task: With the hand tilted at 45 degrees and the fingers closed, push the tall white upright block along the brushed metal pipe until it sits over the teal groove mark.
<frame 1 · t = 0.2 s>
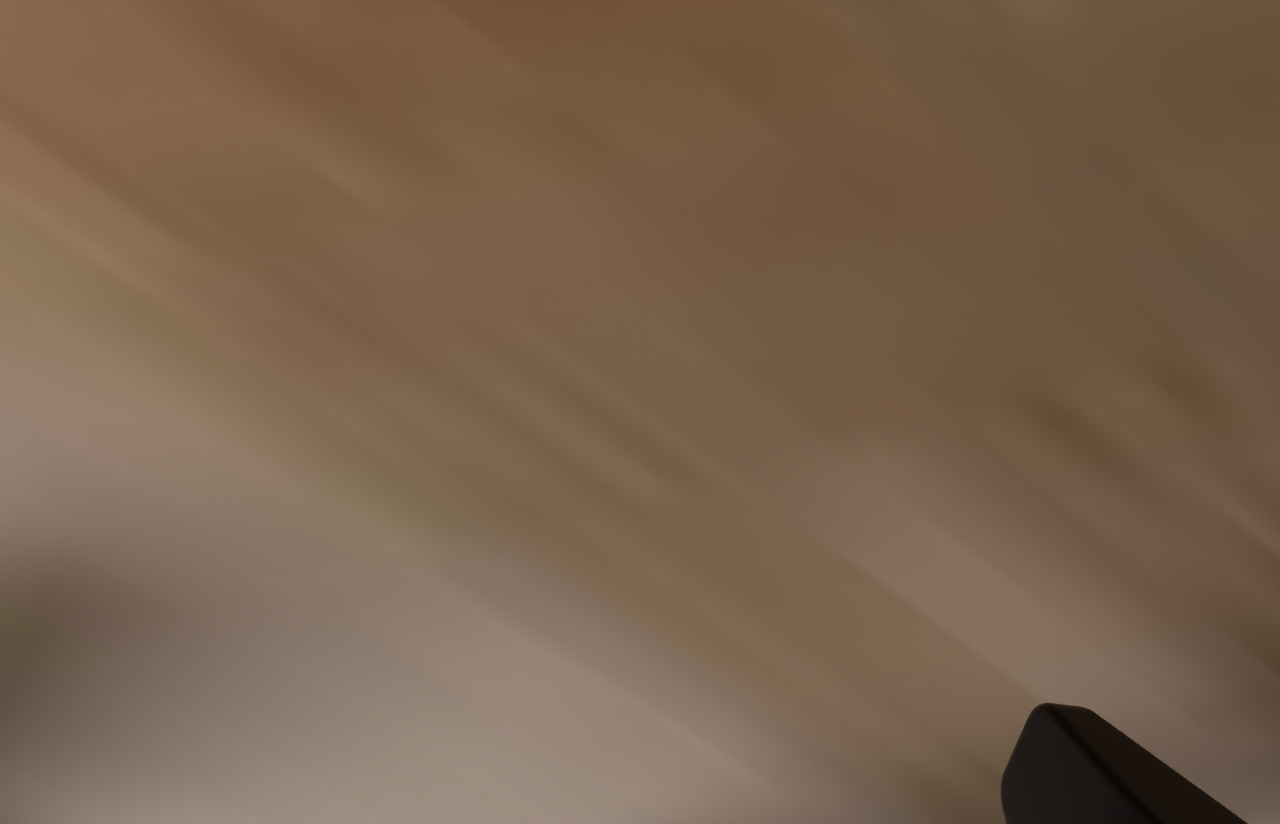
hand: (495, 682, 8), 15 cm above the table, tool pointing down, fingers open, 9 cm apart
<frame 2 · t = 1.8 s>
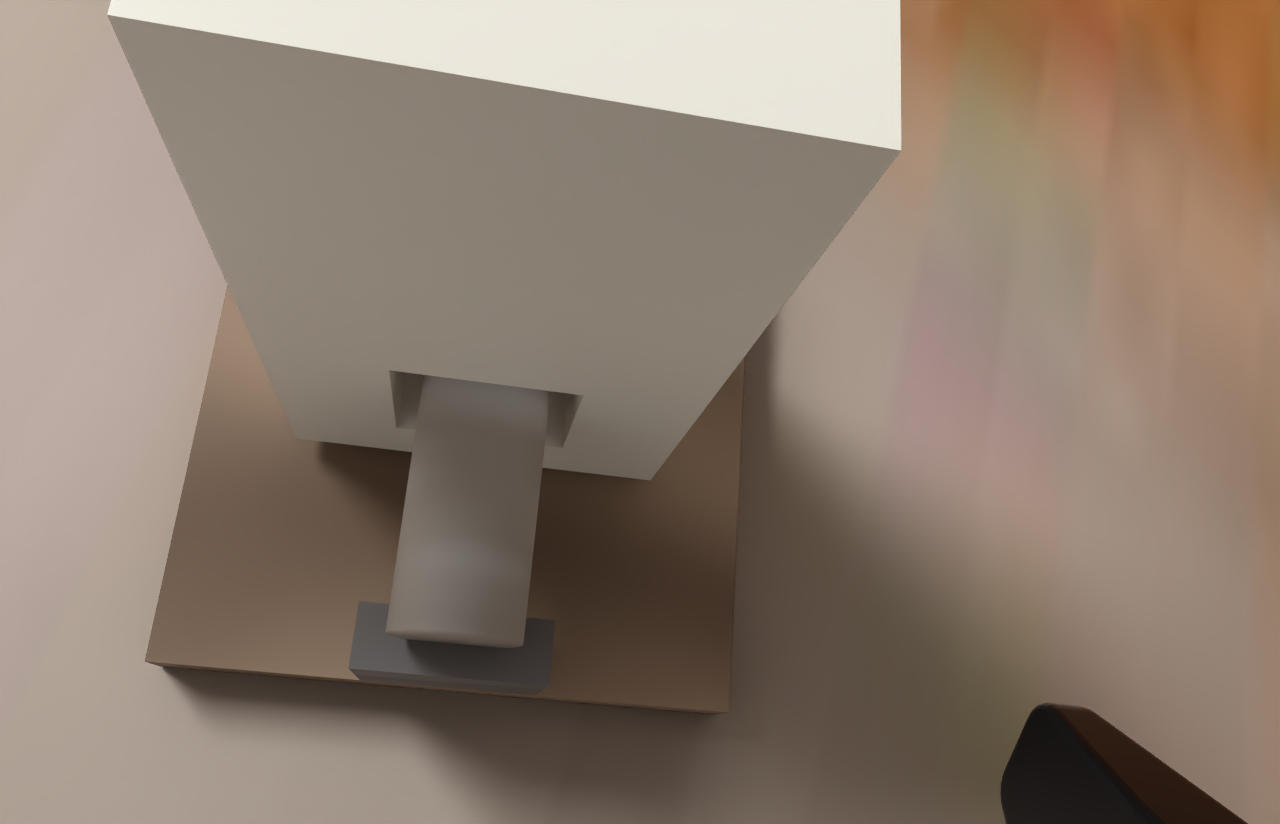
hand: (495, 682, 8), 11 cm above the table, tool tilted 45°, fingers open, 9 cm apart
white upright block: (509, 210, 15), point 7 cm above the table, slide at 0.0 cm
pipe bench: (502, 269, 22), on the table
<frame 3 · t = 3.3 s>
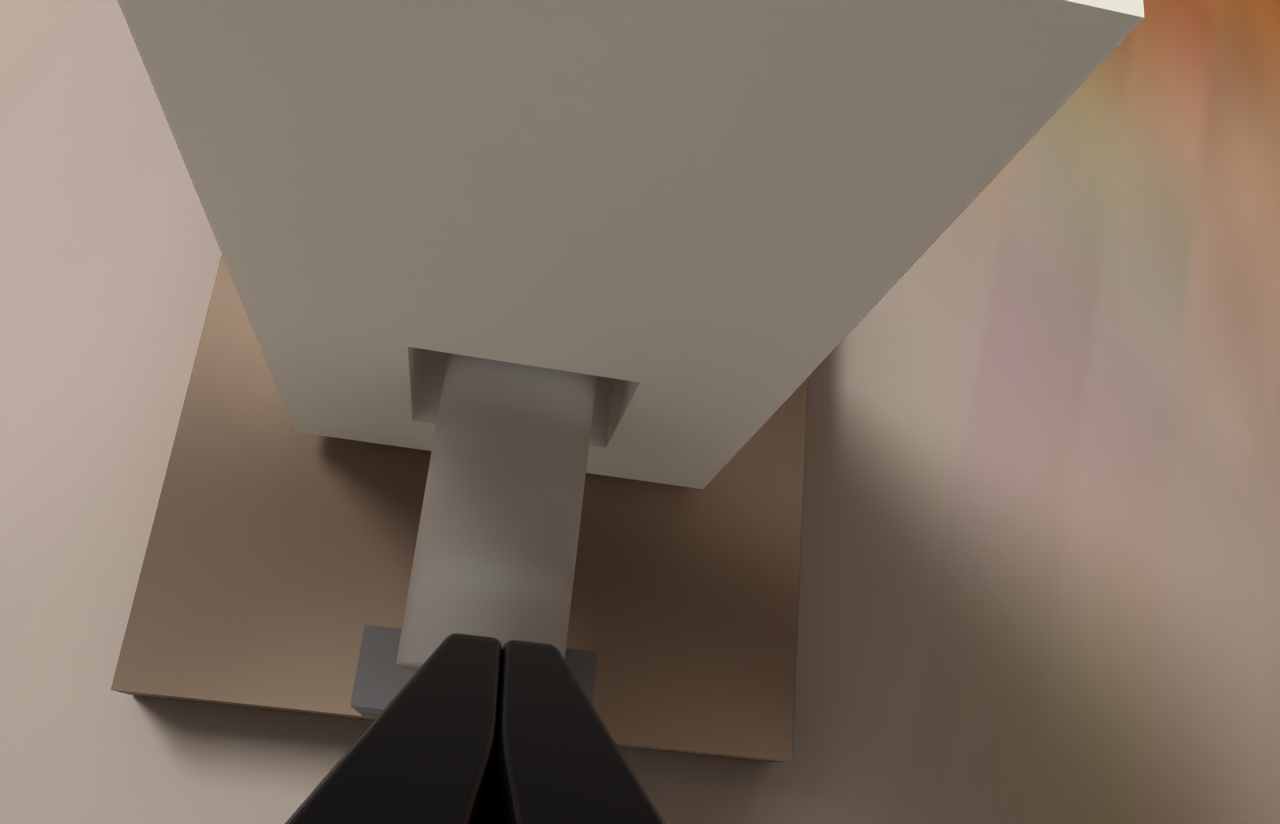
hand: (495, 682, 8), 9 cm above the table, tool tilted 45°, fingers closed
white upright block: (558, 153, 12), point 7 cm above the table, slide at 0.0 cm
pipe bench: (533, 248, 19), on the table
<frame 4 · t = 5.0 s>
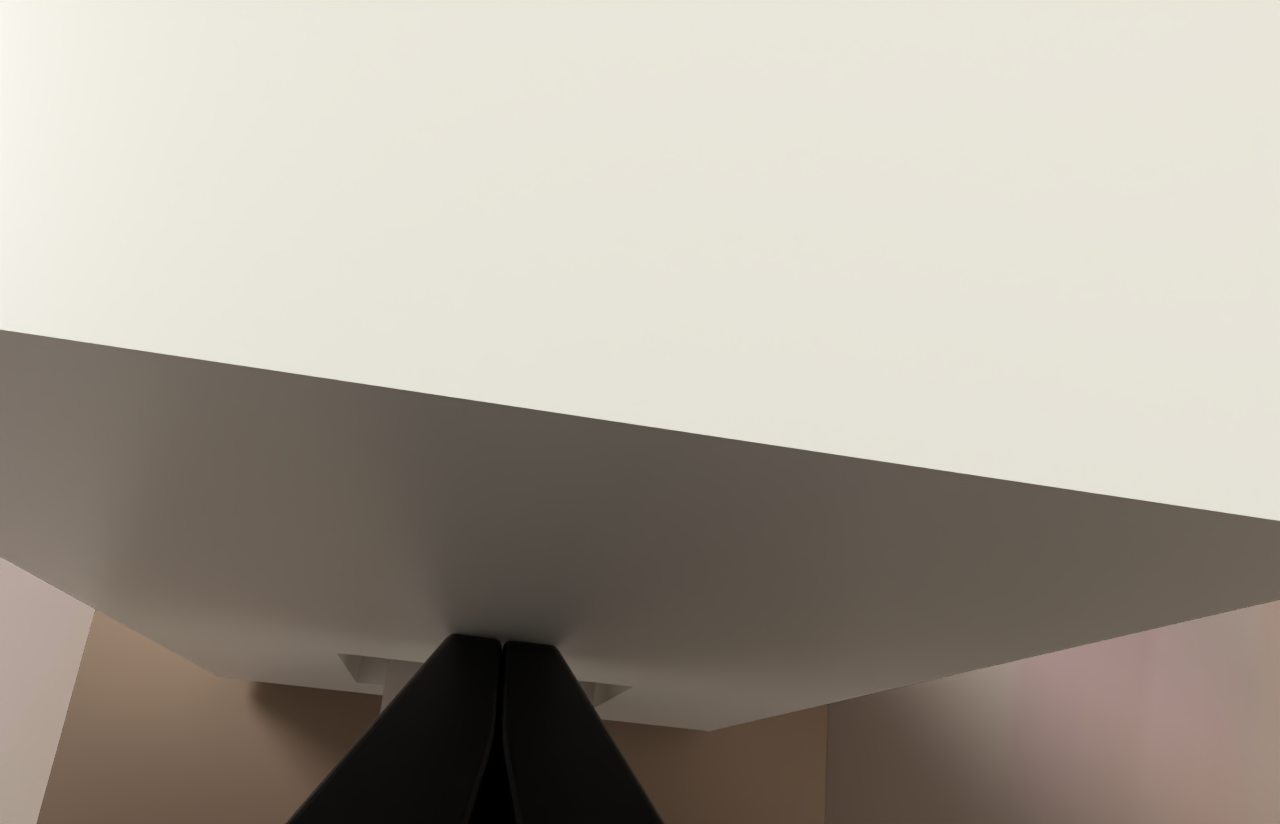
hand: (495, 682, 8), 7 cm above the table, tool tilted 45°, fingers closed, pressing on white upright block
white upright block: (528, 419, 9), point 7 cm above the table, slide at 1.2 cm, touching gripper
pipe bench: (500, 491, 16), on the table
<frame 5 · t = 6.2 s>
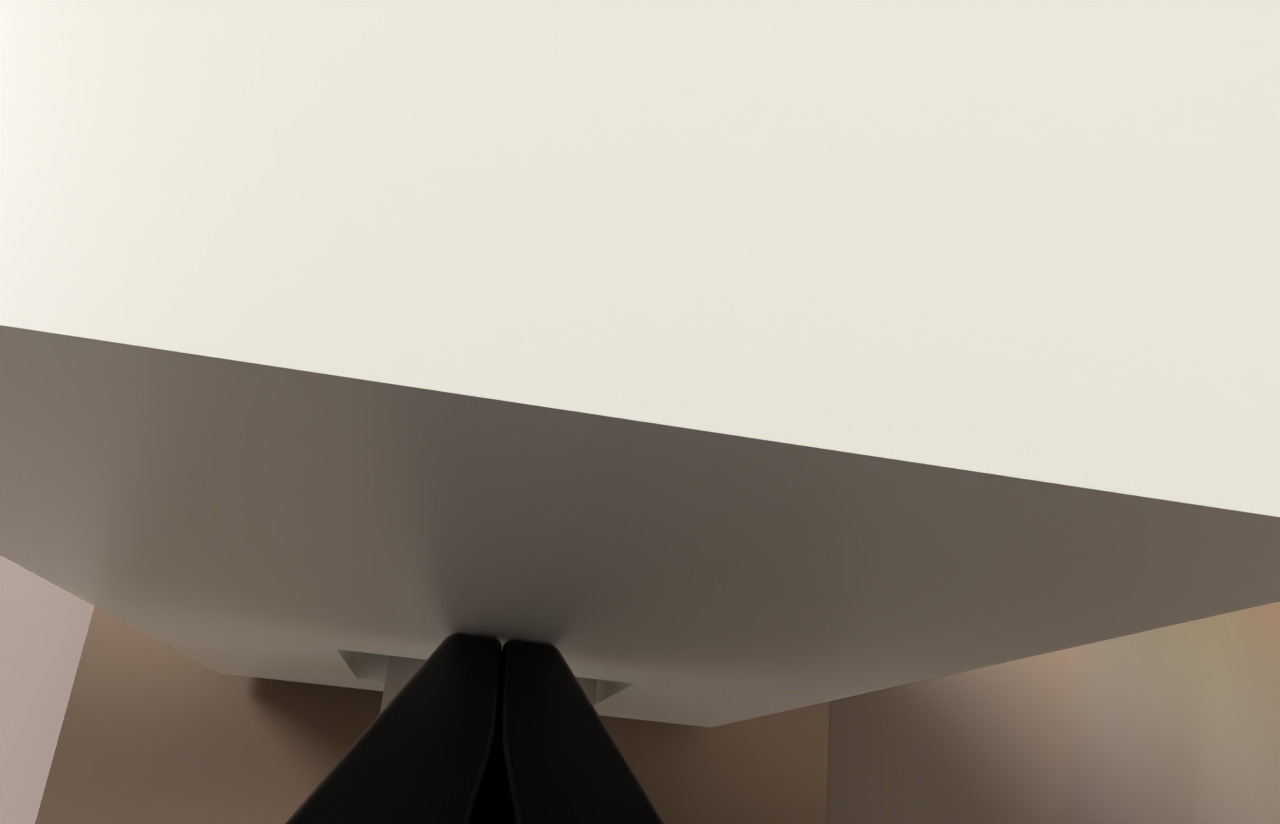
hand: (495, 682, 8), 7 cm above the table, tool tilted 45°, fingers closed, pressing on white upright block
white upright block: (529, 415, 9), point 7 cm above the table, slide at 6.5 cm, touching gripper
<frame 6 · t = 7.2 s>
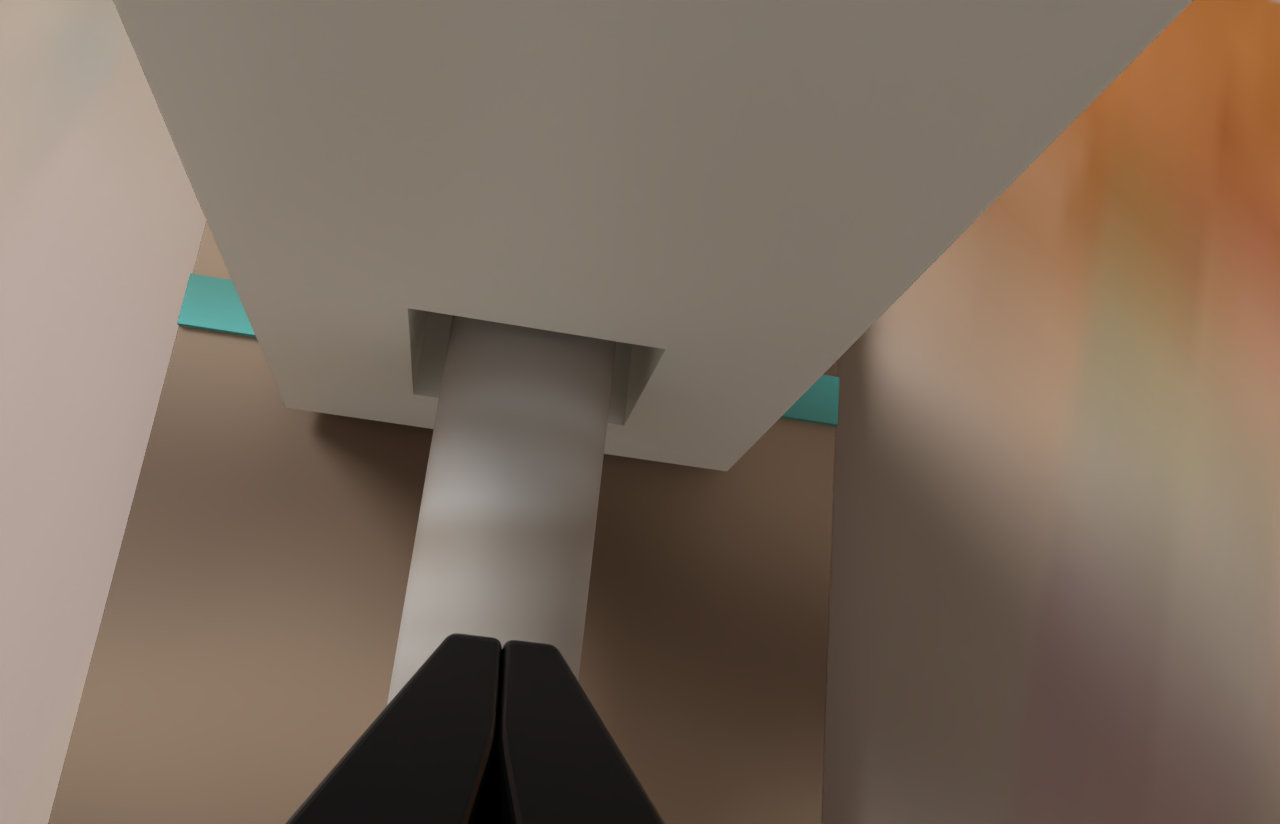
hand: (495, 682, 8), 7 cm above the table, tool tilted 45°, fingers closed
white upright block: (577, 90, 11), point 7 cm above the table, slide at 6.5 cm
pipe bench: (489, 591, 16), on the table
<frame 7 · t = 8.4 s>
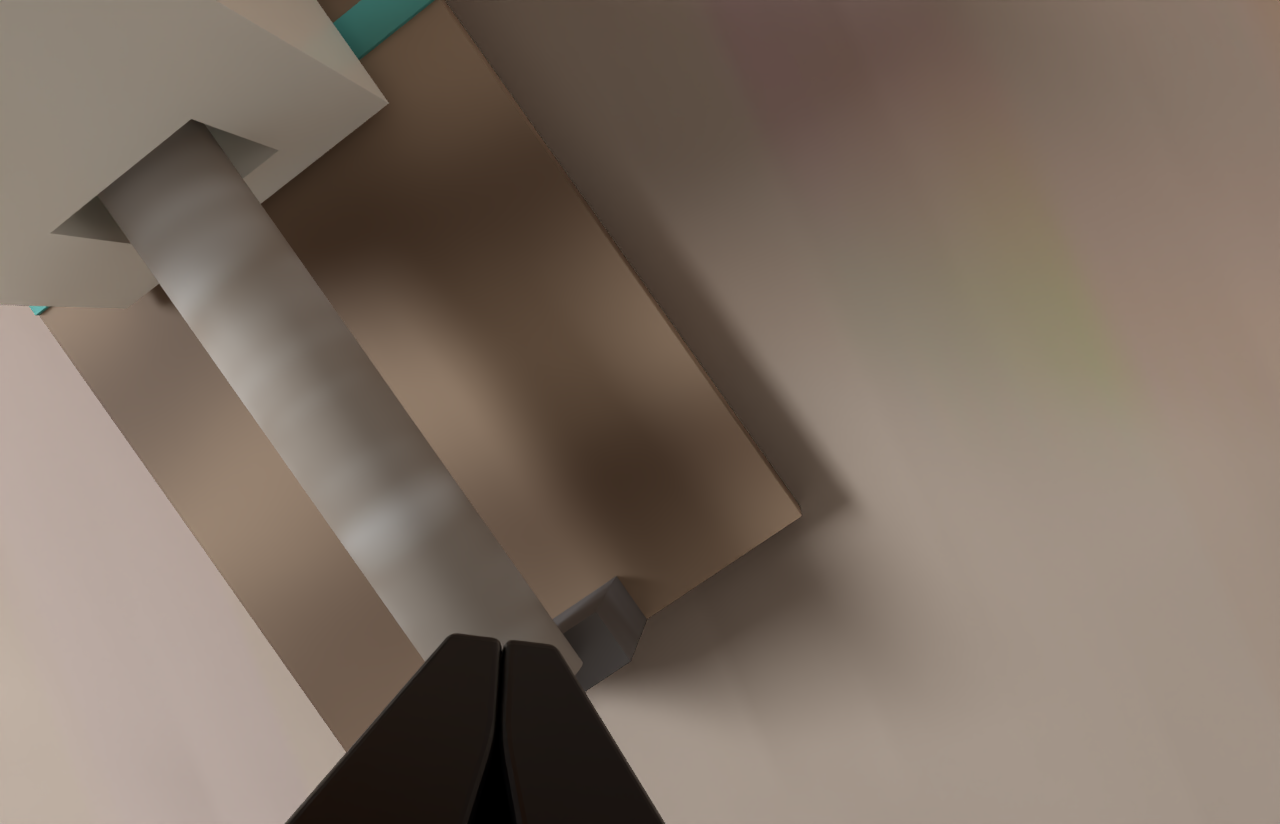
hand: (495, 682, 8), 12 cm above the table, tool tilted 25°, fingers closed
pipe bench: (346, 297, 21), on the table
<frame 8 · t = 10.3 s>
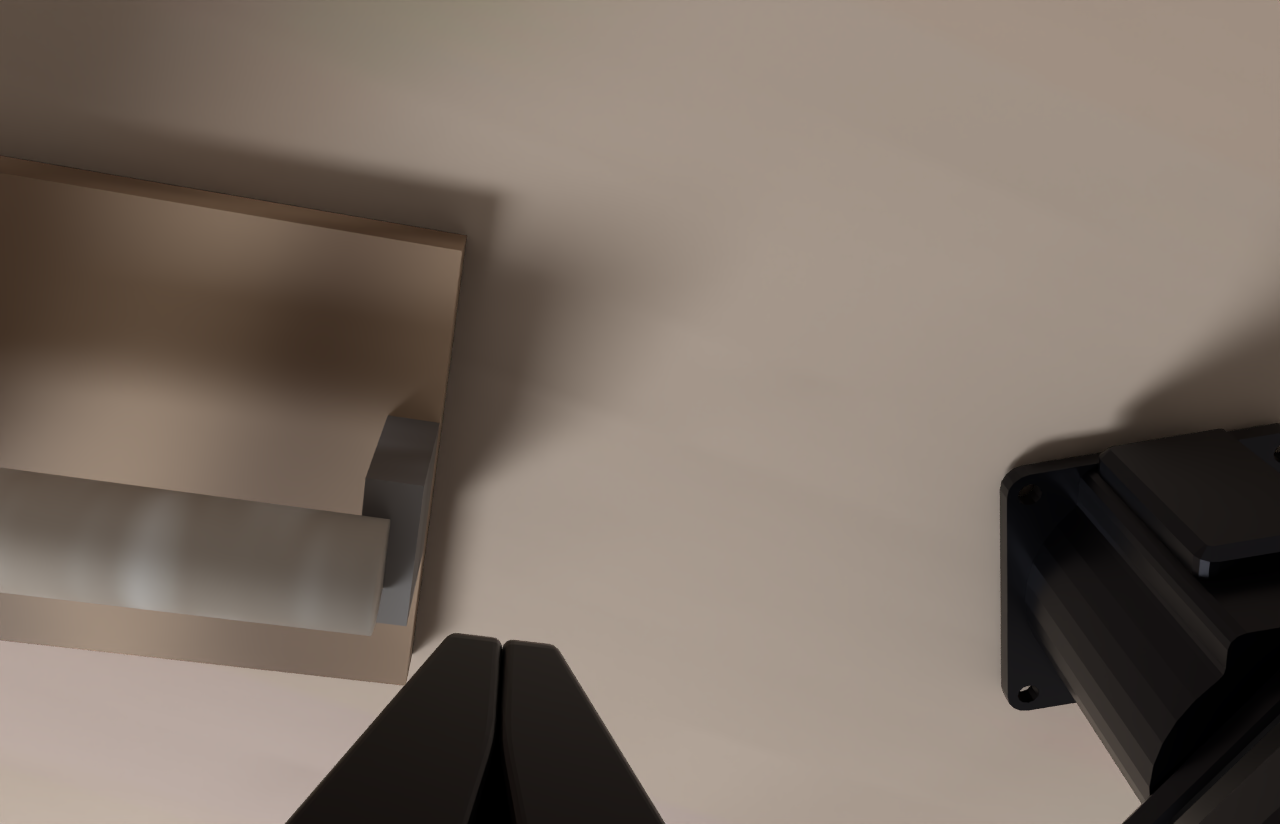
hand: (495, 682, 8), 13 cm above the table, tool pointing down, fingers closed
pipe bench: (3, 404, 21), on the table
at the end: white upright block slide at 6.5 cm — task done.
